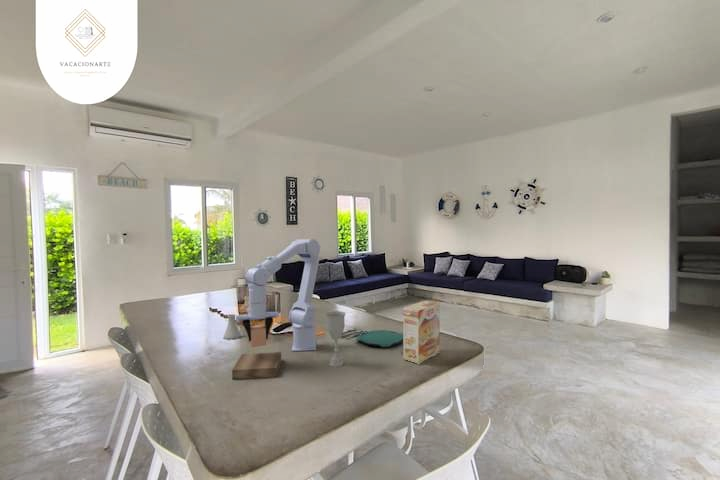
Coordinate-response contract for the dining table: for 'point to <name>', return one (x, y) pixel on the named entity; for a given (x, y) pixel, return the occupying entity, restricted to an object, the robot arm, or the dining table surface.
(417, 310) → the coffeecake box
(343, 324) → the chalice
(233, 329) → the flask
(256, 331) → the terracotta block
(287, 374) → the dining table surface
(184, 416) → the dining table surface
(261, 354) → the walnut base
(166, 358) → the dining table surface
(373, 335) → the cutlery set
